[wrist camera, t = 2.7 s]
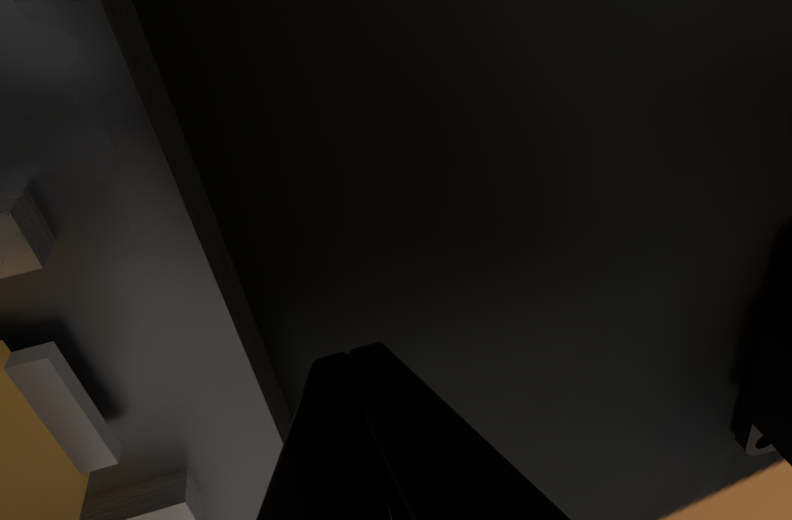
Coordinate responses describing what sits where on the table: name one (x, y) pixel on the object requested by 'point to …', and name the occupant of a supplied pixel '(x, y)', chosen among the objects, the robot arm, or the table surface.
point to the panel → (128, 268)
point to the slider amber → (47, 436)
